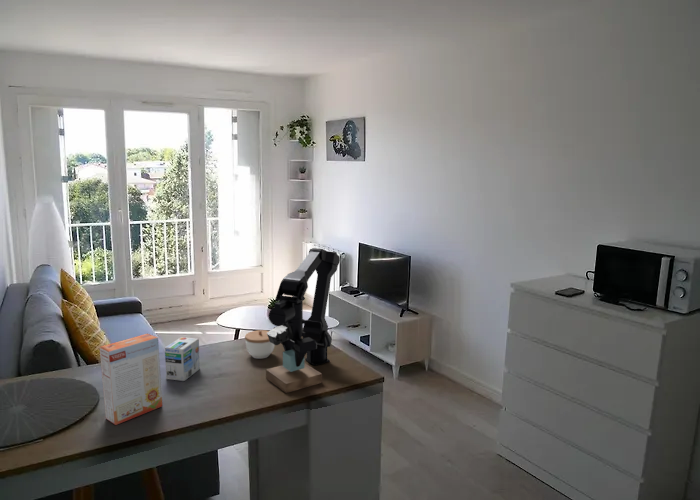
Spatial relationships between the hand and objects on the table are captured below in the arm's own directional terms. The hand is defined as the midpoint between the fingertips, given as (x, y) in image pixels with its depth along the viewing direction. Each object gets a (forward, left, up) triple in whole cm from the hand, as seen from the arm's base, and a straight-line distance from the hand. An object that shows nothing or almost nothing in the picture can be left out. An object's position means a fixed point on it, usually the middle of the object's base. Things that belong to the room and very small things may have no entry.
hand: (293, 363), depth 164 cm
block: (0, 0, -1) cm, 1 cm away
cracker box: (+47, -7, -6) cm, 48 cm away
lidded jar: (-1, -25, -6) cm, 26 cm away
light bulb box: (+27, -25, -6) cm, 37 cm away
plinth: (0, 0, -6) cm, 6 cm away
